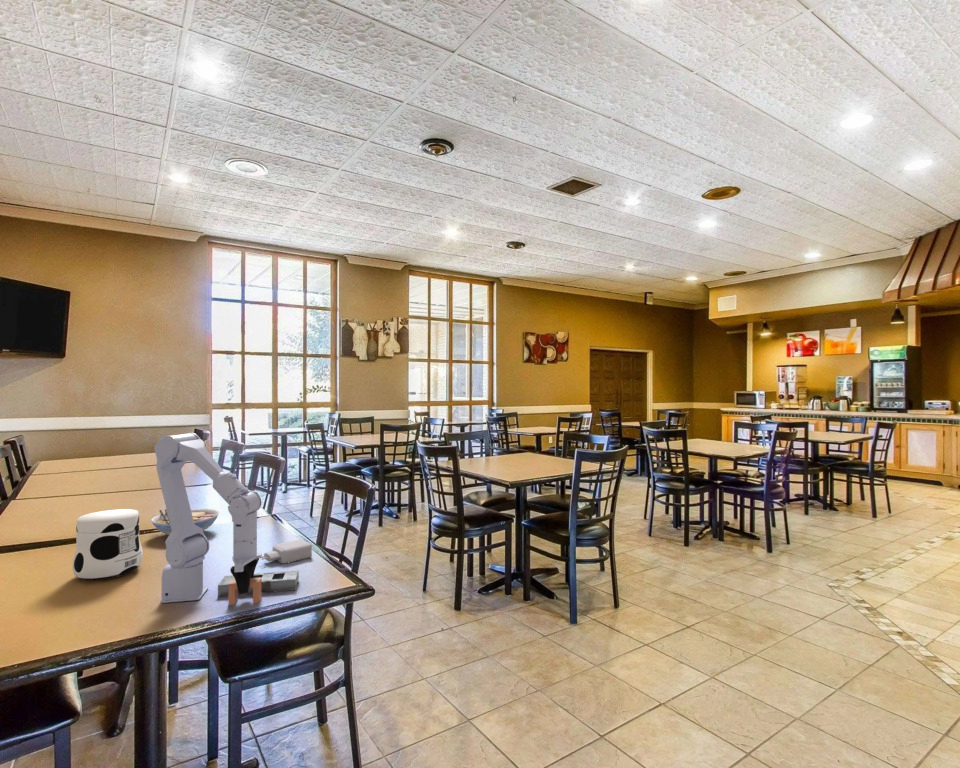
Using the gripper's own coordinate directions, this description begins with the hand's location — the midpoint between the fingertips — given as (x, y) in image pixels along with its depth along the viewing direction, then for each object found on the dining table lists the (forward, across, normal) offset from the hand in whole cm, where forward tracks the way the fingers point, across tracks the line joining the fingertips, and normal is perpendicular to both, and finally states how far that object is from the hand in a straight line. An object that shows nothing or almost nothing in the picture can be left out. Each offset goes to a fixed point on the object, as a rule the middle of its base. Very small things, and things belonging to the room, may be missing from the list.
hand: (245, 589), depth 137 cm
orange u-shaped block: (+3, 0, 0) cm, 3 cm away
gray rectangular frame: (+3, +8, -2) cm, 9 cm away
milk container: (+3, +30, +45) cm, 54 cm away
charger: (+3, +32, -5) cm, 33 cm away
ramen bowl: (+3, +70, +36) cm, 79 cm away
